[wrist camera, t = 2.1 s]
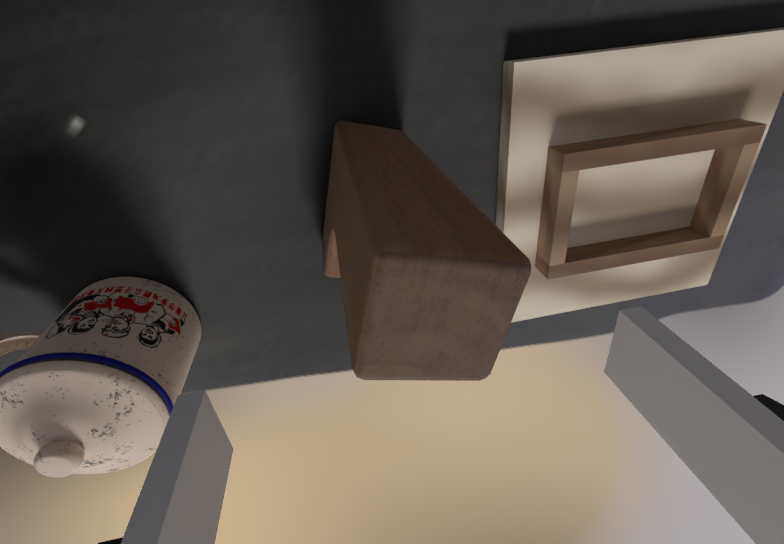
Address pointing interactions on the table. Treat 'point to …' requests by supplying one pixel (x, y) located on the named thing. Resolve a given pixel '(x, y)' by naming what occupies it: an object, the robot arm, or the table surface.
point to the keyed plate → (630, 163)
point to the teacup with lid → (98, 378)
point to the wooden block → (415, 262)
